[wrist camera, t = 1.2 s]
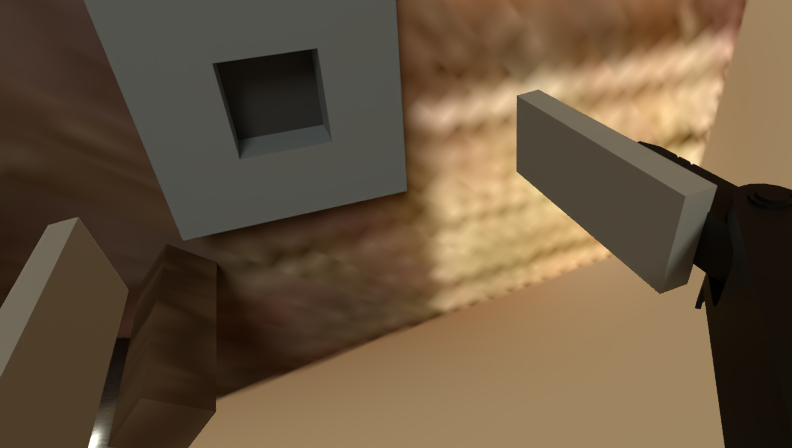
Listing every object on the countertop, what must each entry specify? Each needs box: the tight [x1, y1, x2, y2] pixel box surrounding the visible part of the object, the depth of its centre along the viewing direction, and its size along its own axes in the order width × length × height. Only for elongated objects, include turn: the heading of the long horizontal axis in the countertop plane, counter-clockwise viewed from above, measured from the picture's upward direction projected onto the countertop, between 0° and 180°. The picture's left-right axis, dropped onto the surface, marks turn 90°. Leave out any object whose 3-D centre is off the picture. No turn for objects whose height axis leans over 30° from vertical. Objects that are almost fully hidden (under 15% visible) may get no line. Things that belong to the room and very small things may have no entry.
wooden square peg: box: [108, 244, 217, 448], centre depth 31 cm, size 4×4×14 cm
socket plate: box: [84, 0, 407, 241], centre depth 30 cm, size 16×16×4 cm
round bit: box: [88, 338, 130, 448], centre depth 35 cm, size 6×6×10 cm
